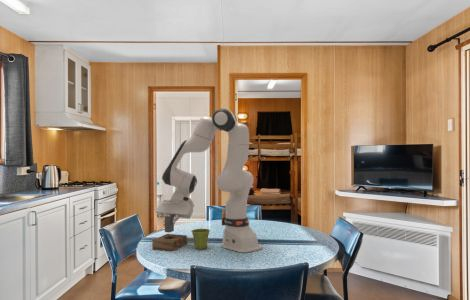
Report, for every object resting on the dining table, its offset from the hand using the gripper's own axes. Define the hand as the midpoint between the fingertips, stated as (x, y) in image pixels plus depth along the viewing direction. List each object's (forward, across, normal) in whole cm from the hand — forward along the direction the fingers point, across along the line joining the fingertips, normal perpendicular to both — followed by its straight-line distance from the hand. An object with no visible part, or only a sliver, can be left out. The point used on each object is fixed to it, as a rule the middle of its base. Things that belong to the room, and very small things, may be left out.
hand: (168, 222), depth 167 cm
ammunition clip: (-34, +11, +52) cm, 64 cm away
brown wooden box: (+8, +1, +9) cm, 12 cm away
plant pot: (+6, +17, +11) cm, 21 cm away
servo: (+3, 0, +4) cm, 5 cm away
